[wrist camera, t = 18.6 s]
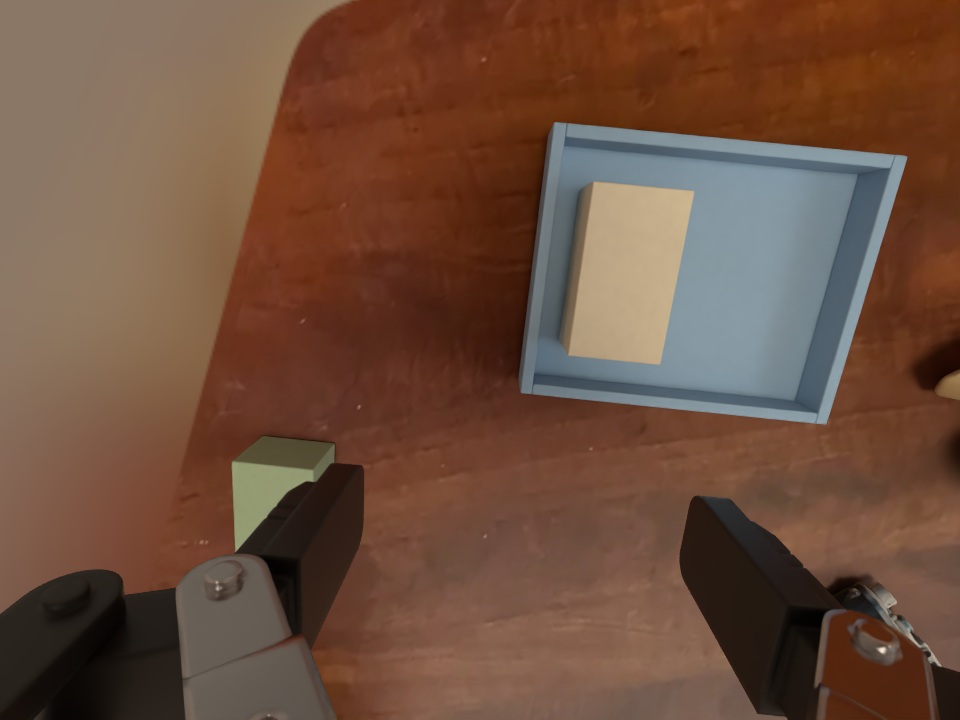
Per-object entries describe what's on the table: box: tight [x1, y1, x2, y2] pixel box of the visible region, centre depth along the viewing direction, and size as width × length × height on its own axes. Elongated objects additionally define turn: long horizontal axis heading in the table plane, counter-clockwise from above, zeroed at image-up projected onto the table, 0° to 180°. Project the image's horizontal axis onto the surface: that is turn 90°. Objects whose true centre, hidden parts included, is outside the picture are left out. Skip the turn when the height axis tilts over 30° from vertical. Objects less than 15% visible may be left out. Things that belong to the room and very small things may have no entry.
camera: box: [832, 582, 942, 667], centre depth 28 cm, size 5×10×4 cm, turn 38°
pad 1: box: [232, 436, 335, 552], centre depth 28 cm, size 4×8×4 cm, turn 174°
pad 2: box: [559, 181, 694, 365], centre depth 23 cm, size 4×8×4 cm, turn 175°
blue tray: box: [518, 122, 907, 424], centre depth 24 cm, size 16×13×2 cm
